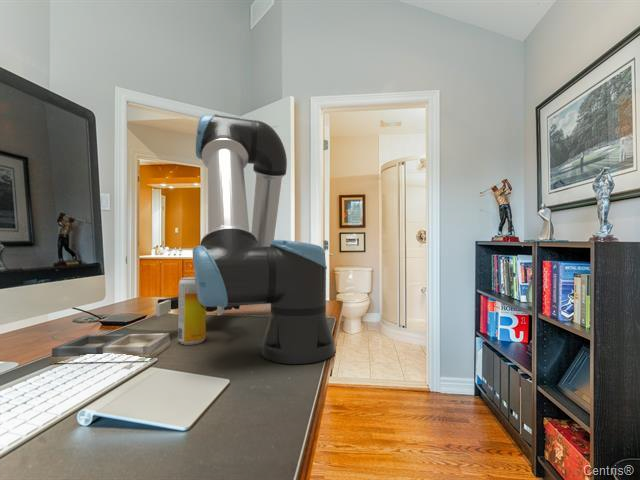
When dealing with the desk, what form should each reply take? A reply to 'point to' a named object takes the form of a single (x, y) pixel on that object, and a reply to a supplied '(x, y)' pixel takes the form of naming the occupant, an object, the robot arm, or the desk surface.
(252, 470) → the desk surface
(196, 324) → the beer can
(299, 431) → the desk surface
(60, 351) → the socket board
